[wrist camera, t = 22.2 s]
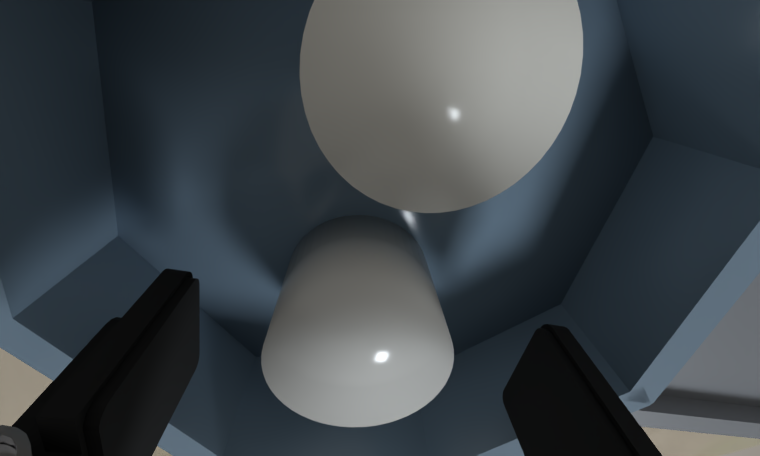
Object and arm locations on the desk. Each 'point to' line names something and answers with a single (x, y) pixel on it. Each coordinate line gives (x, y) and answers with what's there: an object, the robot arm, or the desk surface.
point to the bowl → (368, 207)
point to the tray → (717, 379)
